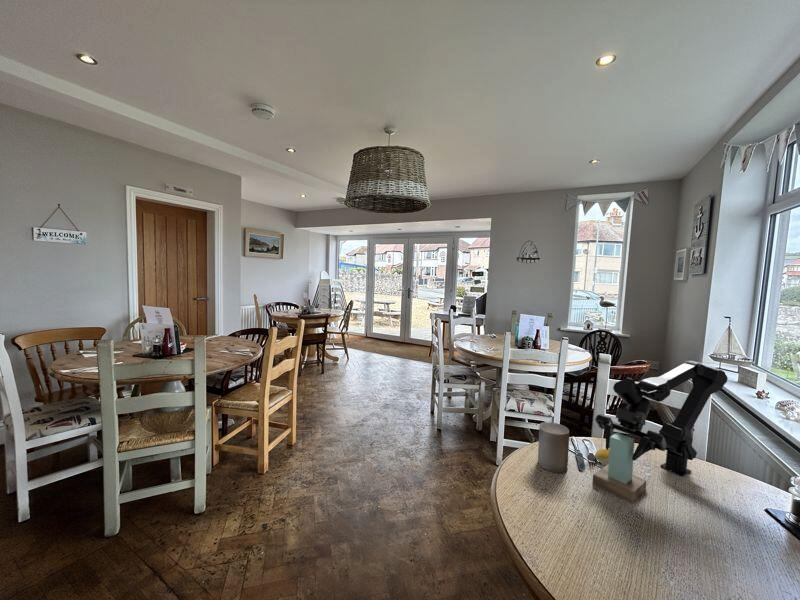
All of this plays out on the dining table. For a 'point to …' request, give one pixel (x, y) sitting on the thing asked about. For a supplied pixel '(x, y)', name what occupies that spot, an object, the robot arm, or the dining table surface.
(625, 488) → the walnut base
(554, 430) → the pillar candle
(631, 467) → the pillar
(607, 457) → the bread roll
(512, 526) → the dining table surface
